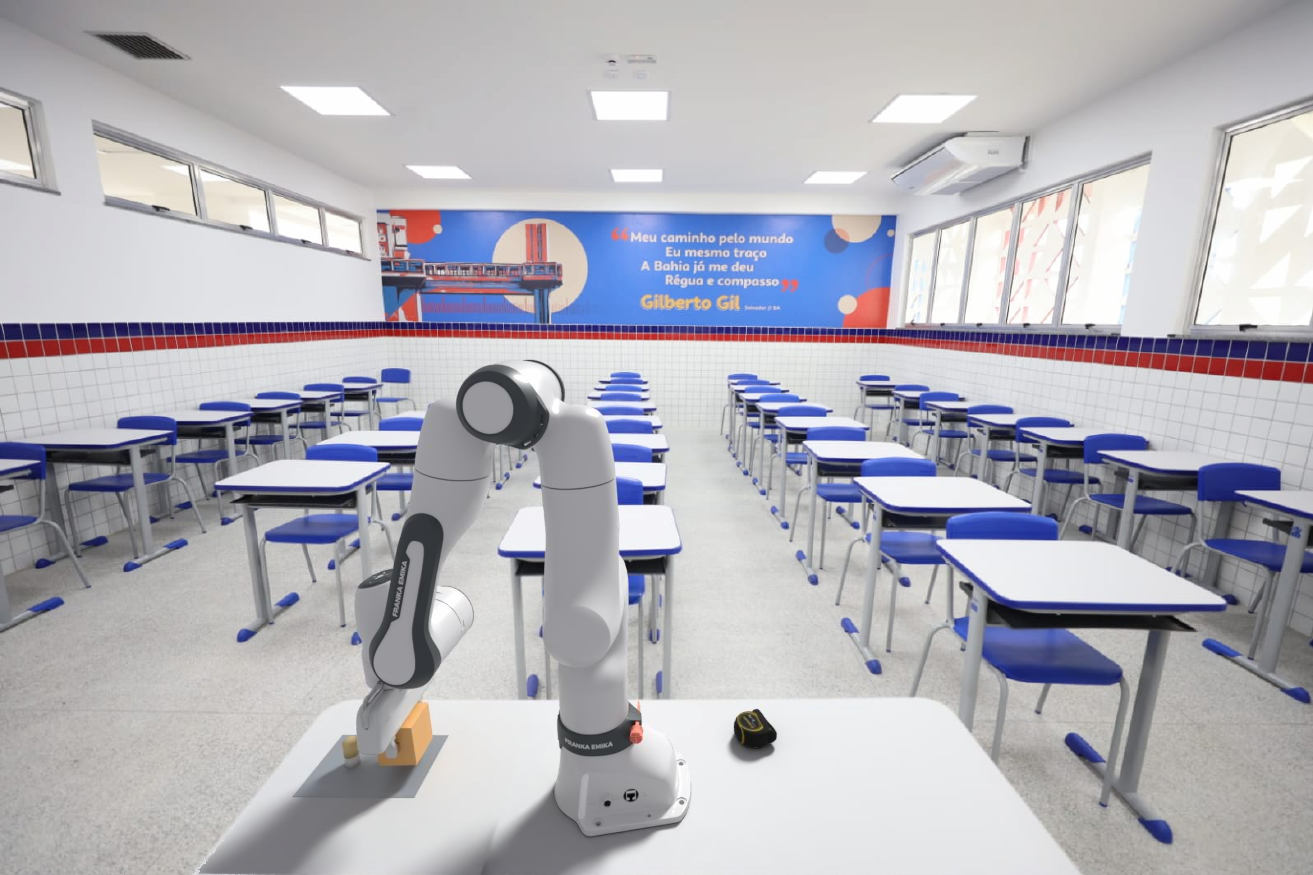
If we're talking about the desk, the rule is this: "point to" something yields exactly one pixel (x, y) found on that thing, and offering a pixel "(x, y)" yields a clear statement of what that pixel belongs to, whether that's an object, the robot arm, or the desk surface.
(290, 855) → the desk surface
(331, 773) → the plate
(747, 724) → the tape measure
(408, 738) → the amber rectangular brick
